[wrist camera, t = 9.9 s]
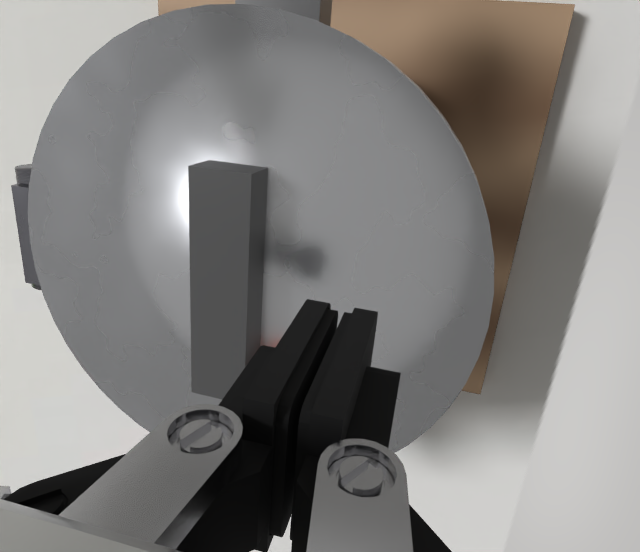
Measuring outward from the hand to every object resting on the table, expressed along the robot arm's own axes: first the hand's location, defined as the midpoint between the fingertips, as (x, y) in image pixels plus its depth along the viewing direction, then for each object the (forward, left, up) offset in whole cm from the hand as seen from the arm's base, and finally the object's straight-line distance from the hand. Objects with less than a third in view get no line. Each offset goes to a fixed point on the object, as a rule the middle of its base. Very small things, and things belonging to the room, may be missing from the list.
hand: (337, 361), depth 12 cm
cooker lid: (+1, -5, -7) cm, 9 cm away
